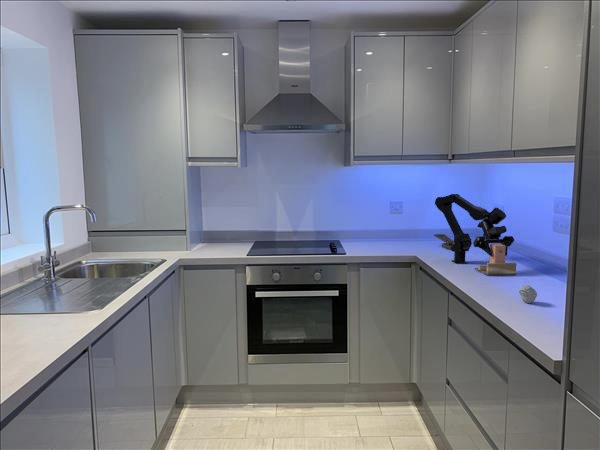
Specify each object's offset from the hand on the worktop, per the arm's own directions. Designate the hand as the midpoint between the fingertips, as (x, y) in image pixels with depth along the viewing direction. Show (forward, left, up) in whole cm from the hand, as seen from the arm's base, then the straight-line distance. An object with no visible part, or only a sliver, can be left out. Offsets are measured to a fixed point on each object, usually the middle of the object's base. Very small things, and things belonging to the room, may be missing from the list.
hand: (499, 255), depth 219 cm
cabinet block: (-1, 0, -8) cm, 8 cm away
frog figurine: (+46, -13, -9) cm, 48 cm away
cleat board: (-3, 0, -9) cm, 10 cm away
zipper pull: (-74, +6, -9) cm, 75 cm away
